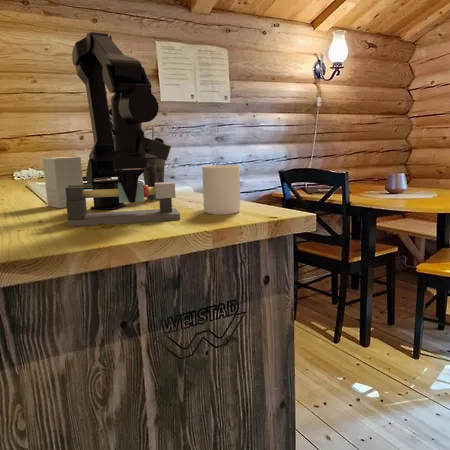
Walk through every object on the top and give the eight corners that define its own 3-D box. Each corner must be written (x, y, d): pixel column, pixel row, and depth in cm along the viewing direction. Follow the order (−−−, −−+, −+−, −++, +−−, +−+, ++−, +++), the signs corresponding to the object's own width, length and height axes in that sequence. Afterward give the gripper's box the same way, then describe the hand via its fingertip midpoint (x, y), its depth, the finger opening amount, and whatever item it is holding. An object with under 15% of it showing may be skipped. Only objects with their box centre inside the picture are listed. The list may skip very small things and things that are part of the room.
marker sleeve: (119, 202, 86) (118, 184, 85) (119, 200, 89) (118, 182, 89) (144, 201, 87) (143, 183, 86) (143, 199, 90) (142, 181, 90)
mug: (191, 209, 100) (189, 165, 98) (222, 205, 104) (221, 163, 102) (213, 216, 90) (212, 167, 88) (247, 212, 94) (246, 165, 92)
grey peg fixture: (68, 226, 82) (64, 188, 81) (73, 219, 90) (69, 184, 88) (180, 219, 87) (178, 183, 86) (175, 213, 95) (174, 180, 93)
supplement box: (86, 205, 111) (81, 156, 109) (58, 208, 106) (53, 158, 104) (73, 202, 116) (69, 156, 114) (46, 206, 111) (41, 157, 109)
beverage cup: (137, 200, 117) (132, 127, 113) (149, 197, 123) (145, 127, 119) (161, 201, 114) (157, 126, 110) (172, 197, 121) (168, 126, 117)
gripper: (171, 122, 78) (175, 205, 81) (163, 126, 96) (166, 194, 99) (109, 123, 75) (115, 208, 78) (113, 126, 93) (117, 196, 96)
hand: (132, 201), depth 88 cm, fingers closed on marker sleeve, 4 cm apart
